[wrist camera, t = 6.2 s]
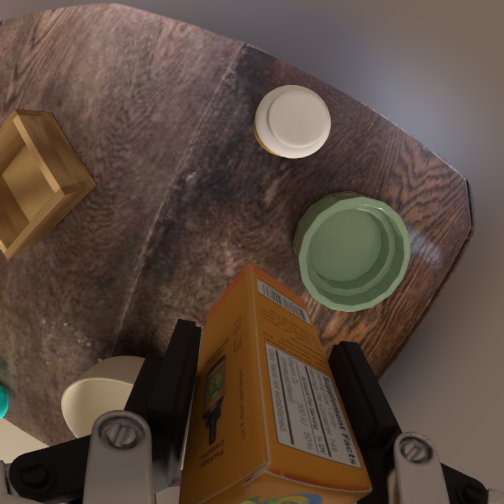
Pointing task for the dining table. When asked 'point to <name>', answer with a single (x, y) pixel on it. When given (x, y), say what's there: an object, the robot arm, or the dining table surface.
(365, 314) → the dining table surface
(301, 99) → the supplement bottle
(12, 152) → the wooden holder
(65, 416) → the bowl
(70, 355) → the dining table surface
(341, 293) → the green bowl
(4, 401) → the turquoise yo-yo
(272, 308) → the supplement box
